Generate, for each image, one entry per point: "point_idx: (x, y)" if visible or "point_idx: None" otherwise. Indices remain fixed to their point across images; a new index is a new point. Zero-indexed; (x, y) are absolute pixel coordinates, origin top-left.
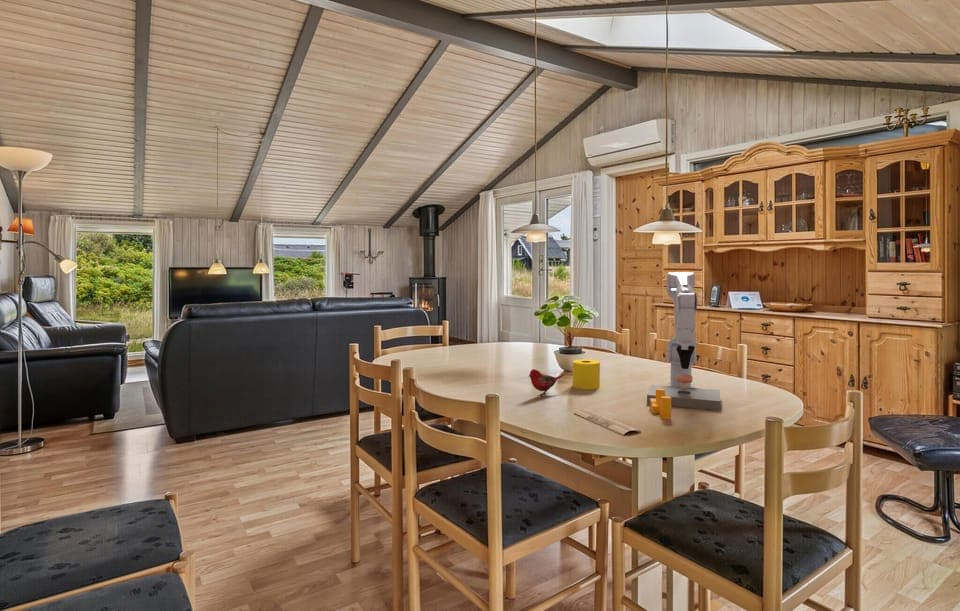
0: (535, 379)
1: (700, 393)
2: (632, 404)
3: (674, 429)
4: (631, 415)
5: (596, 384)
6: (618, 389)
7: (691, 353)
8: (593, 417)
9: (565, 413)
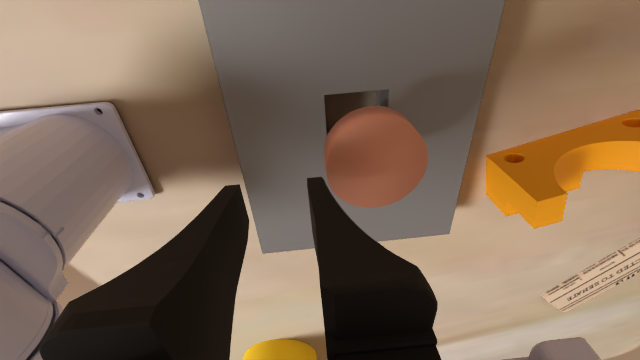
0: None
1: (351, 36)
2: (451, 241)
3: None
4: (582, 217)
5: (294, 352)
6: (271, 306)
7: (400, 261)
8: (631, 276)
9: (561, 319)
